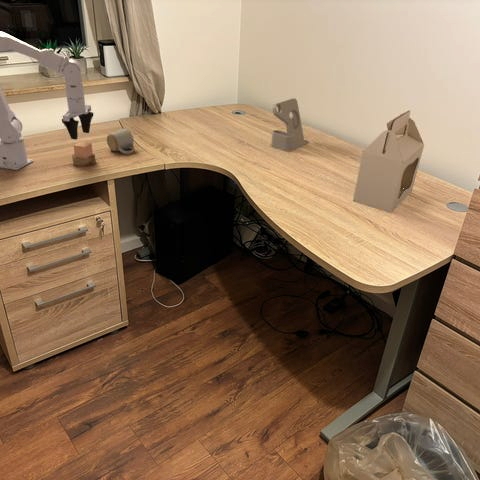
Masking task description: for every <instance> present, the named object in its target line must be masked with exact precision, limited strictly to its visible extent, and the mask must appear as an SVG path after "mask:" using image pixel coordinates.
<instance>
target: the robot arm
mask: <svg viewBox="0 0 480 480" xmlns="http://www.w3.org/2000/svg"><path fill="white" fill-rule="evenodd" d="M5 51H6V52H7V51H13V52H16V53H18V54H21V55H24V56H26V57H28V58H31V59H34V60H36V61H38V63H39V65H40V67H42V68H45V69H48V70H50V71H52V72H55V73H58V74H60V75H61V74H62V76H63V77H64V82H65V83H64V86H65V93H66V101H67V102H66V103H67V111H66V112H65V113H64V114H62V119H61V123H62V124H63V125H64V127H65V128H66V130H67V132H68V134H69V136H70V139H71V140H78V135H79V134H78V126H79V123H80V126H81V129H82V130H81V131H82V133H83V134H89V133H90V129H91V123H92V120H93V117H94V112H92V106H91V105H90V104H86V102H85V91H84V83H83V77H82V71H83V70H82V65H81V63H80V62H79V61H78V60H76V59H75V58H70V57H69V56H68V55H65V56H64V55H62V54H59V53H58V52H55V50H54V49H53V48H49V49H48V48H44V49H38V48H37V47H34V46H33V45H30V44H28V43H27V42H24V41H22V40H20V39H18V38H16V37H14V36H12V35H10V34H9V33H6V32H4V31H0V52H5ZM76 117H78V118H79V120H76V119H75V118H76ZM22 130H23V124H22V121H20V119H19V118H17V116H16V114H15V112H14V111H13V110H12V109H11V107H10V106H9V103H8V101H7V99H6V97H5V94H4V92H3V90H2V87H1V86H0V168H3V169H9V170H14V171H17V170H19V169H21V168H23V167H25V166H27V165H29V164H31V163H33V162H34V159H32V158H28V155H27V151H26V145H25V139H24V136H23V135H22V133H21V132H22Z"/></svg>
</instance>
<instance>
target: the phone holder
mask: <svg viewBox="0 0 480 480" xmlns="http://www.w3.org/2000/svg"><path fill="white" fill-rule="evenodd" d="M272 113H273V116H274V117H276V118H277V119H278V120H280V121H281V122H282V123H284V124H285V128H286V131H284V130H283V131H282V130H278V129H277V130H272V132H271V143H270V147H271V148H273V149H277V150H279V151H283V152H286V153H289V152H293V151H295V150H297V149H299V148H301V147H303V146H306V145H308V144H309V143H310V141H309V140H307V139H305V138H304V131H303V127H302V126H303V125H302V120H301V114H300V110H299V103H298V100H297V99H296V98H294V97H293V98H288V99H286V100H283V101H280V102H277V103H274V104H273V106H272ZM290 113H291V114H292V116H291V117H290Z"/></svg>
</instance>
